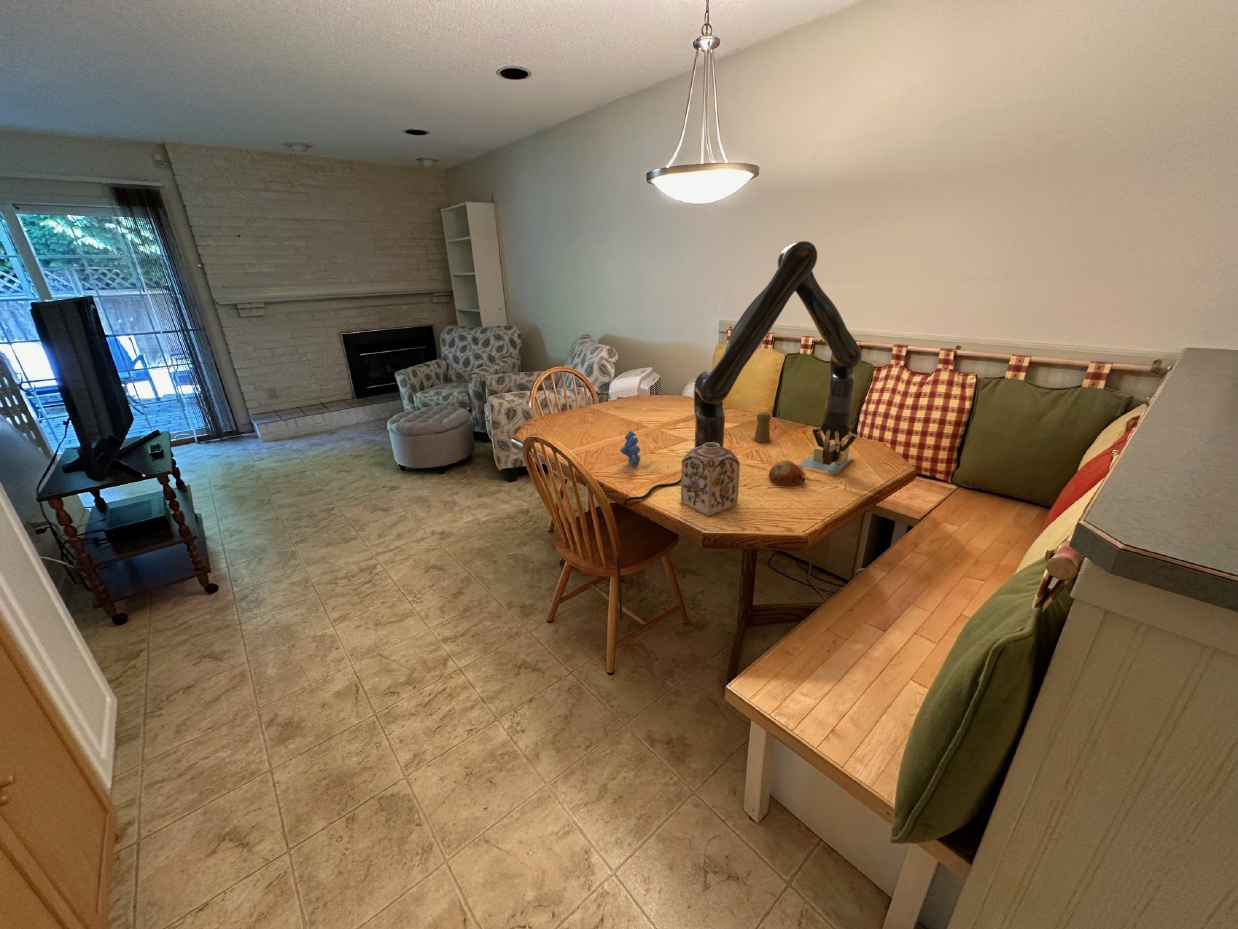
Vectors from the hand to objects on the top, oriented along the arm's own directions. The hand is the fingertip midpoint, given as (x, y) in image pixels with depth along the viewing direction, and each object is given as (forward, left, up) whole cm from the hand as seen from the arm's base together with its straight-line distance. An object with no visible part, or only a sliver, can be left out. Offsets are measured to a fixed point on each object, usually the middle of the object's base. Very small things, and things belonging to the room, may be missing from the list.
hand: (830, 460), depth 155 cm
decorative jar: (-44, +19, -4) cm, 48 cm away
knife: (+5, 0, 0) cm, 5 cm away
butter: (+9, +5, -3) cm, 11 cm away
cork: (+17, +31, -4) cm, 35 cm away
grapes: (-34, +56, -4) cm, 66 cm away
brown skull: (-15, +8, -4) cm, 18 cm away
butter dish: (+6, +3, -4) cm, 7 cm away
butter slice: (+9, -1, -3) cm, 9 cm away
